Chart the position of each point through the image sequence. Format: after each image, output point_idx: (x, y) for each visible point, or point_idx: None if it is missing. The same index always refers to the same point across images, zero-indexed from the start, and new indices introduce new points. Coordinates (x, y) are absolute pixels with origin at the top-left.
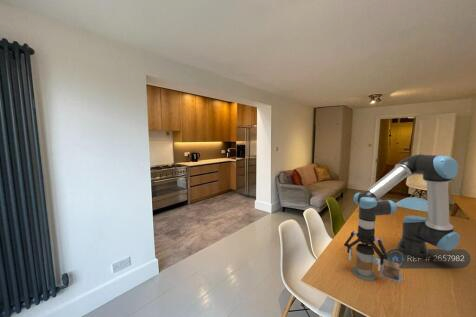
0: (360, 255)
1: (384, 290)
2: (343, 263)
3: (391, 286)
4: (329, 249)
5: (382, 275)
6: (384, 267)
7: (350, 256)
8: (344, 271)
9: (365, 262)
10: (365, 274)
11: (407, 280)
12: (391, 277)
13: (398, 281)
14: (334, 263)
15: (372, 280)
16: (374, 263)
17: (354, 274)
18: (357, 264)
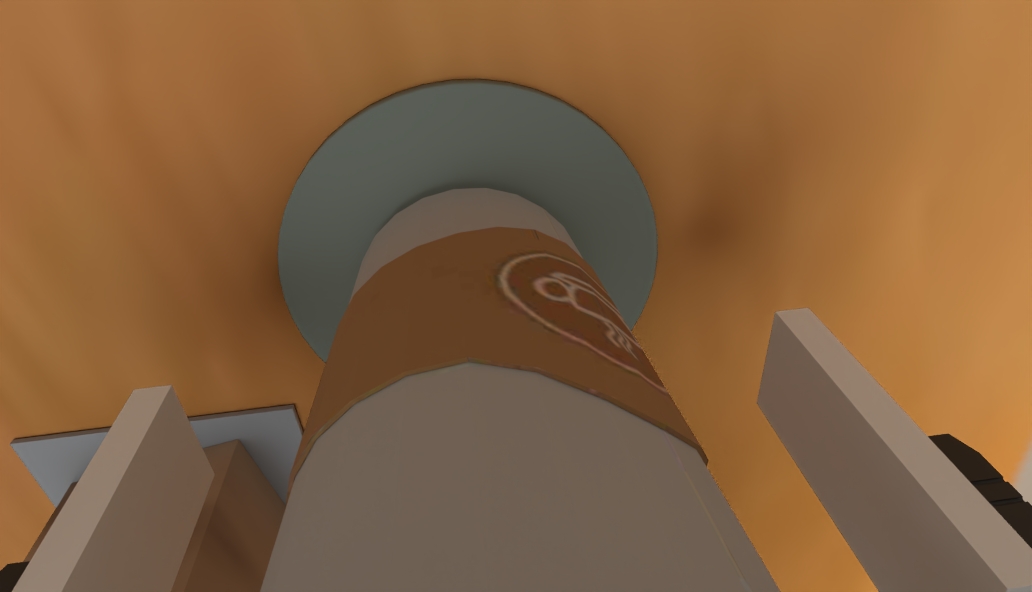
0: (614, 504)
1: (5, 68)
2: (802, 302)
3: (30, 283)
4: (1011, 462)
5: (262, 432)
6: (257, 573)
7: (834, 380)
8: (760, 84)
9: (405, 369)
10: (410, 213)
11: (23, 551)
12: None
13: (52, 459)
14: (945, 190)
15: (290, 197)
16: None
17: (586, 118)
18: (603, 292)
